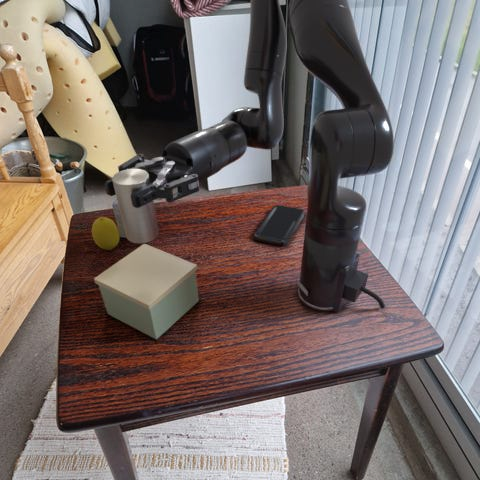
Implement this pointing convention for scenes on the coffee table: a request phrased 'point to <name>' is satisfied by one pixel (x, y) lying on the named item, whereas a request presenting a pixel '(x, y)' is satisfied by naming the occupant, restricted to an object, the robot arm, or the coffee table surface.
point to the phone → (279, 225)
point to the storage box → (149, 289)
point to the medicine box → (118, 219)
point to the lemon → (105, 233)
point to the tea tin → (134, 219)
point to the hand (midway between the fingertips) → (120, 195)
